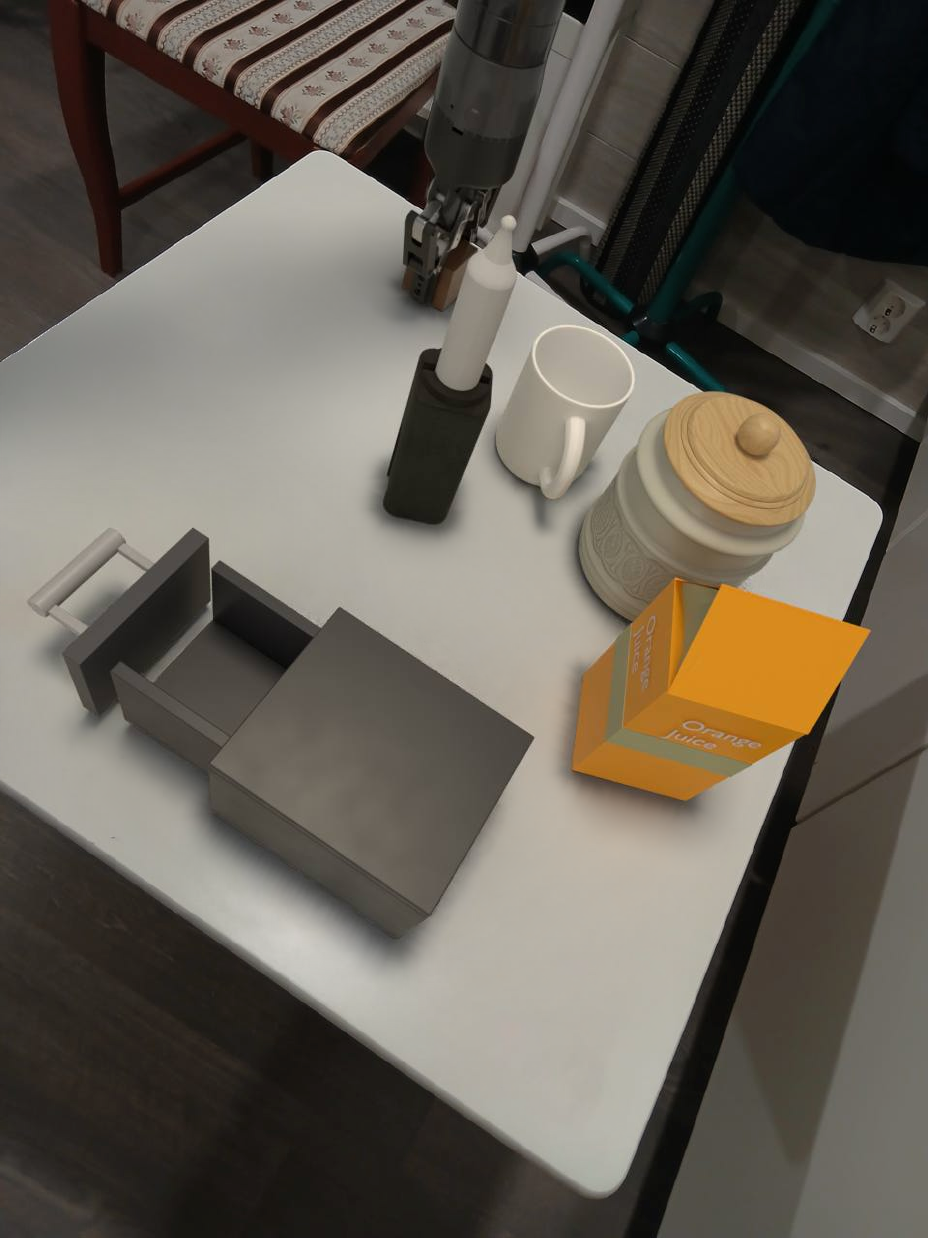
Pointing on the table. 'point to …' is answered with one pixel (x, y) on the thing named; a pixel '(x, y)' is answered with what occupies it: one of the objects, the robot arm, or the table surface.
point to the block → (448, 273)
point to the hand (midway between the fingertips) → (434, 284)
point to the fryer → (367, 773)
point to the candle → (452, 391)
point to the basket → (151, 619)
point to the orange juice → (707, 687)
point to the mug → (563, 406)
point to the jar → (697, 501)
